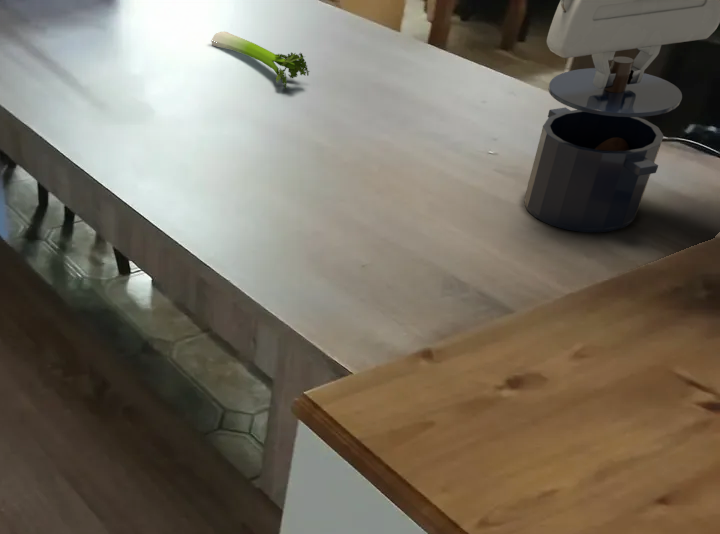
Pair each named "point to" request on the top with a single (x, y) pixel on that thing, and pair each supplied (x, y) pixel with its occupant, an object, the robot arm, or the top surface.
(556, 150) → the pot
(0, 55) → the top surface
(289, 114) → the top surface
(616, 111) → the lid
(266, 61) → the celery stalk
